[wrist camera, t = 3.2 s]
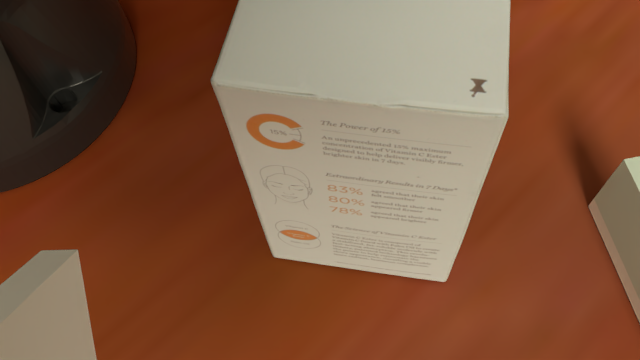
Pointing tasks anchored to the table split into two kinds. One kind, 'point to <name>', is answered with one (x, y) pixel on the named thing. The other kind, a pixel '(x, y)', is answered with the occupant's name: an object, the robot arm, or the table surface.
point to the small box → (366, 124)
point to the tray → (622, 225)
